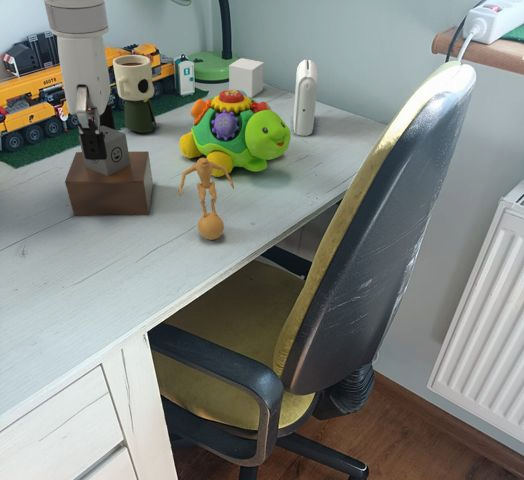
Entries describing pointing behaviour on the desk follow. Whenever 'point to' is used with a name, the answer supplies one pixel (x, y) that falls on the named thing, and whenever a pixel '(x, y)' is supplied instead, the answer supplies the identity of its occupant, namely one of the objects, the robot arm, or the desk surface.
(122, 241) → the desk surface
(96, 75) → the robot arm
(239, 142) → the turtle toy
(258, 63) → the white cube
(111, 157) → the dice cube
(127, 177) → the walnut block
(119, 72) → the character mug
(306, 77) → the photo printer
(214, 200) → the figurine
